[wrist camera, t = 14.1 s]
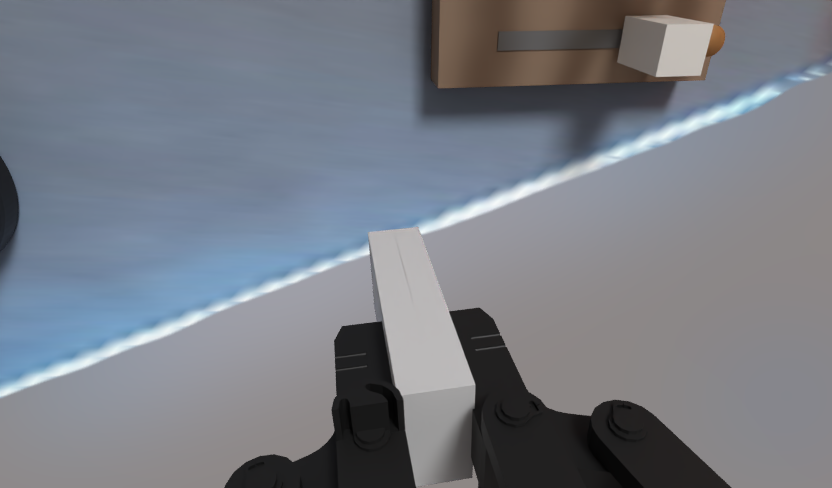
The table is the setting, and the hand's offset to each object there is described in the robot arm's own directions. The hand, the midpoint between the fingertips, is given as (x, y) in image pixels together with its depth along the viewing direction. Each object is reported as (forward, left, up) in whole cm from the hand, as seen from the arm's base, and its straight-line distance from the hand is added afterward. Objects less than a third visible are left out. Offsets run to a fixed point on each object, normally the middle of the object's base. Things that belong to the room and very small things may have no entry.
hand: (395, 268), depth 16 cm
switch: (+20, +3, -22) cm, 30 cm away
